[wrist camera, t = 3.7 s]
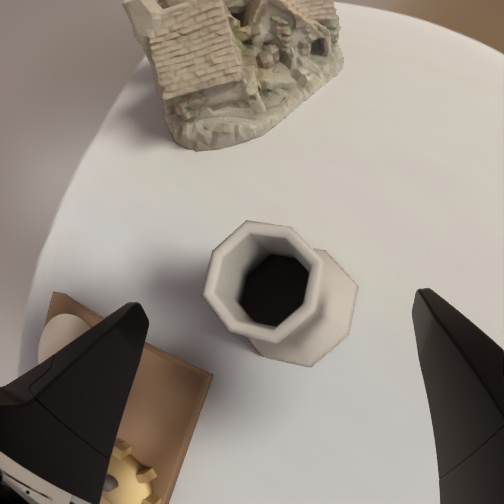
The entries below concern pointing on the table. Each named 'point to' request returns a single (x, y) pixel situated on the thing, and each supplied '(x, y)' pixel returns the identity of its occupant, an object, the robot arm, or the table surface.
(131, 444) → the gear board
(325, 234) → the table surface
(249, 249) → the flask
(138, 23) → the ceramic cottage
